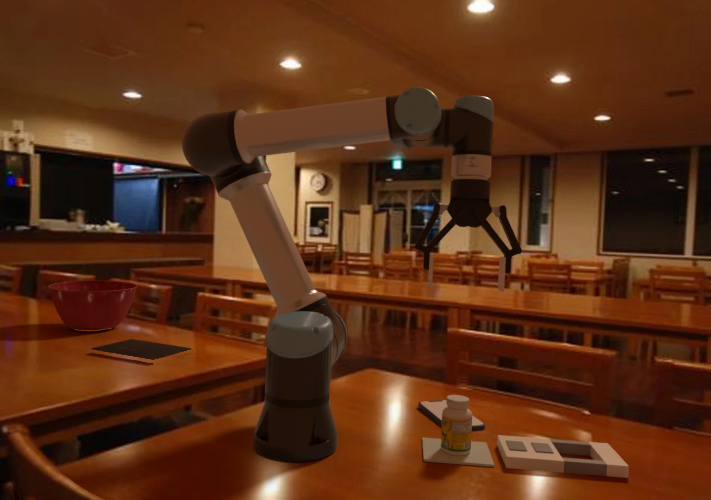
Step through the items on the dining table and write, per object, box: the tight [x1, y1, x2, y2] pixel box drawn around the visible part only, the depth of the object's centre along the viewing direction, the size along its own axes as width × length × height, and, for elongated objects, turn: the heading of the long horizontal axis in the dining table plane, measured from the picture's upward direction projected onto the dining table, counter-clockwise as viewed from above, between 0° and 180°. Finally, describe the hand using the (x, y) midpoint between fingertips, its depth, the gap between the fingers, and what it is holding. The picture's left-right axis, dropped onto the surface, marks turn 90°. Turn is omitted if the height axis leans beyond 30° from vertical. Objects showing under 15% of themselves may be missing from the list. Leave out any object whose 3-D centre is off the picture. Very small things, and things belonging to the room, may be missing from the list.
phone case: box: [417, 399, 486, 431], centre depth 121 cm, size 9×2×16 cm
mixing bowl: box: [47, 280, 139, 330], centre depth 197 cm, size 28×28×15 cm
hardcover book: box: [90, 338, 192, 360], centre depth 164 cm, size 16×23×2 cm
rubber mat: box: [421, 437, 495, 468], centre depth 102 cm, size 12×10×1 cm
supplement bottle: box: [440, 394, 473, 456], centre depth 101 cm, size 5×5×10 cm
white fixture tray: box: [496, 434, 630, 479], centre depth 100 cm, size 20×10×2 cm, turn 85°
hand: (465, 288), depth 109 cm, fingers open, 13 cm apart
